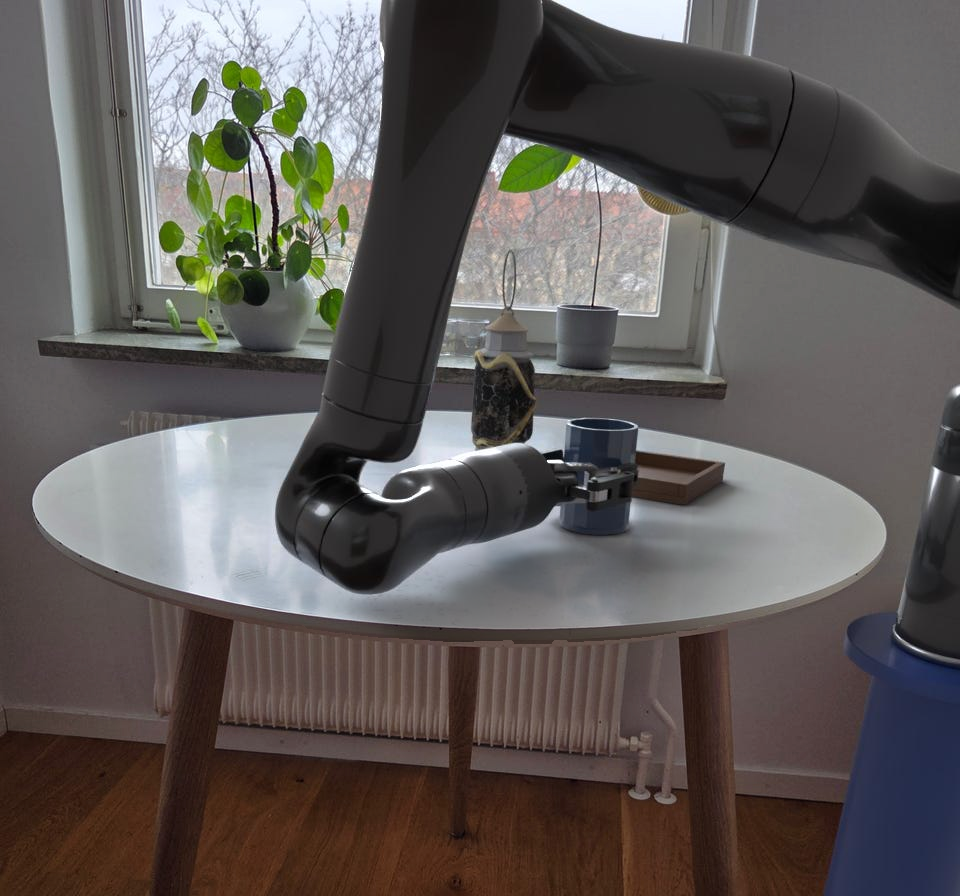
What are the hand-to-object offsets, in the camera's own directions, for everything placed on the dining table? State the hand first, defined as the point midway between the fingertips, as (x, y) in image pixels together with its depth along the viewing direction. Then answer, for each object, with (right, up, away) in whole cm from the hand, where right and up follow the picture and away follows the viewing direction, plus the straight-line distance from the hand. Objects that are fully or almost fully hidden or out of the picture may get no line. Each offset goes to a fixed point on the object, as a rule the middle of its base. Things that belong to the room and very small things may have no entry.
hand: (595, 466), depth 90 cm
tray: (+7, +2, +21) cm, 23 cm away
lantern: (-9, +6, +30) cm, 31 cm away
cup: (0, -5, +3) cm, 6 cm away
